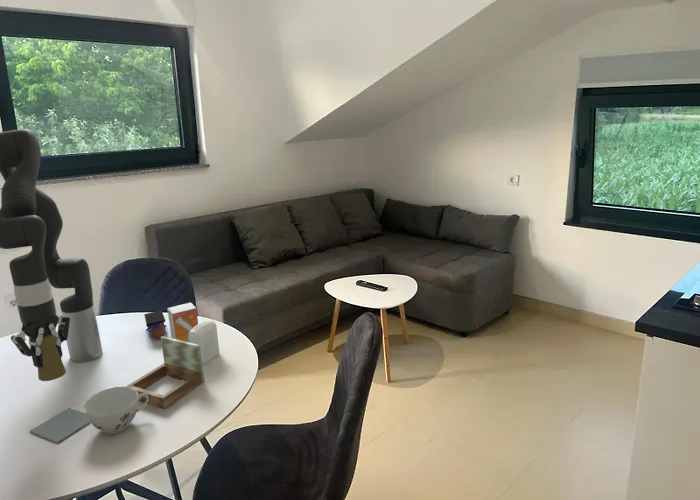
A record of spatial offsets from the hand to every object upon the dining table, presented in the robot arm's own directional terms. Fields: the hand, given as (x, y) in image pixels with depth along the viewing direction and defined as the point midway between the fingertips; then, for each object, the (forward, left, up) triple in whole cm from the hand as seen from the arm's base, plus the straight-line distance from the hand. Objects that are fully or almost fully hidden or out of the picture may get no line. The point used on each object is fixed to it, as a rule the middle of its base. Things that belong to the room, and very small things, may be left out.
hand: (49, 363), depth 128 cm
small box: (-4, +48, -18) cm, 51 cm away
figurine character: (-20, +50, -18) cm, 57 cm away
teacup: (+14, +6, -18) cm, 24 cm away
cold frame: (+12, +23, -18) cm, 32 cm away
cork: (0, 0, -3) cm, 3 cm away
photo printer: (+10, +42, -18) cm, 47 cm away
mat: (0, 0, -18) cm, 18 cm away
